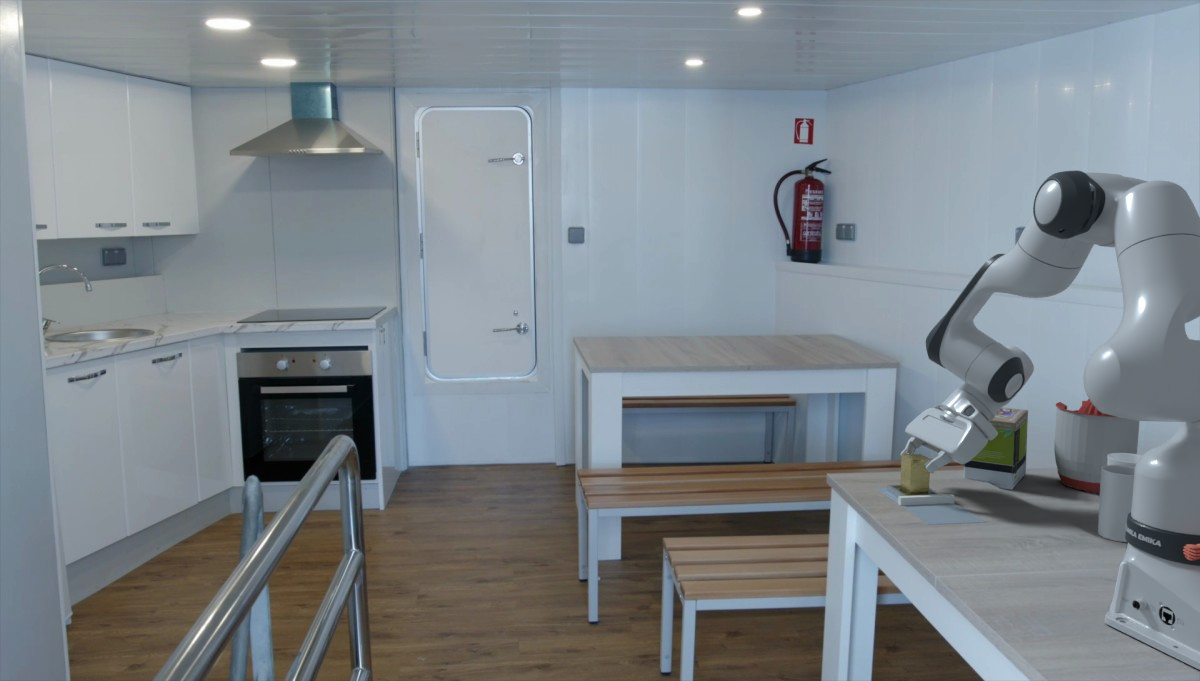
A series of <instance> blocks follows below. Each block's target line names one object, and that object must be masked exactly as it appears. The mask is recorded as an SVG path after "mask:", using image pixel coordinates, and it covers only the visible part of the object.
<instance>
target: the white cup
mask: <svg viewBox="0 0 1200 681" xmlns="http://www.w3.org/2000/svg"><path fill="white" fill-rule="evenodd" d="M1142 455H1143V454H1138V453H1137V454H1130V453H1111V454H1108V455H1107V465H1121V466H1129V467H1134V468H1135V466H1136V464H1137V462H1138V460H1139V459H1140V457H1141V456H1142Z"/></svg>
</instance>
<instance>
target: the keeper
mask: <svg viewBox="0 0 1200 681" xmlns="http://www.w3.org/2000/svg"><path fill="white" fill-rule="evenodd" d="M886 488H887V491H888V492H889V493H891V494H892V495H894V496H895V497H897V498H898V496H918V495H905V494H903V493H902V492H900V484H886ZM929 495H942V493H940V492H938V491H936V490H934V489H933V488H931V487H929Z"/></svg>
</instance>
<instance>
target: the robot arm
mask: <svg viewBox="0 0 1200 681" xmlns="http://www.w3.org/2000/svg"><path fill="white" fill-rule="evenodd" d="M1032 209H1033V214H1032V216H1031V218H1030V219H1029V220H1028V222H1027V224H1026V226H1025V227H1024V229H1023V231H1022V233H1021V234H1020V236H1019V238H1018V239H1017V242H1016V243H1015V245H1014V246H1013V247H1012V248H1011V250H1009V251H1008V252H1006V253H997V254H994V255H993V256H992V257H990V258H989V259H988V260H987V261H985V263H983V265H982V266H981V267H980V268H979V269H978V270H977V272H976V273H975V274H974V275H973V277H972V278H971V279H970V281H969V282H968V283H967V284H966V286H965V287H964V289H963V290H962V291H961V292H960V294H959V295H958V297H957V298H956V299H955V301H954V303H952V305H951V306H950V307H949V309H948V310H947V312H946V313H945V314H944V315H943V317H942V318H941V319H940V320H939V321H938V322H937V323H936V324H935V326H934V327H932V329H931V330H930V331H929V333H928V335H927V336H926V339H925V349H926V350H925V351H926V354H927V357H928V359H929V360H930V361H931V362H932V363H934V364H936V365H939V366H940V367H941V368H944V370H945V369H946V370H947V371H949V372H950V373H952V374H953V375H954V376H956V377H957V378H959V379H960V380H961V381H963V382H964V383H963V384H961V385H959V386H958V387H956V389H955V390H953V391H952V393H951V394H950V395H949V396H948V397H947V398H946V399H945V400H944V401H942V403H941V404H940V405H936V406H935V407H930V408H927V409H925V410H924V411H922V412H920V414H919V415H917V416H916V417H915V418H914V419H913V420H912V421H911V422H909V424H907V425H906V427H905V430H904V433H905V434H906V435H907V436H908V437H909V439H908V441H907V442H906V444H905V448H904V449H903V450H902V451H901V452H900V453H899V454H900V456H901V457H902V454H915V452H916V450H917V449H919V448H920V447H921V446H922V447H924V448H927V449H929V450H931V451H933V452H935V453H937V456H936V457H935V458H933V459H930V460H928V461H927V462H926V464H924V466H923V467H924V469H925V470H926V471H928V472H929V473H930V474H934V473H935V472H936V471H937V470H938V469H940V468H942V467H944V466H946V465H948V464H950V462H951V461H954V462H956V463H957V464H959V465H964V464H965V463H967V462H969V461H971V460H972V459H973V458H974V457H975V456H976V455H977V454H978V453H979V452H980V451H981V450H982V449H983V448H984V447H985V446H986V444H987V442H988V440H993V439H994V438H995V437H996V436H997V435H998V432H997V430H996V429H995V428H994V427H993V426H992V424H991V423H990V421H991V420H992V419H993V418H994V417H995V415H996V413H997V412H998V410H999V409H1000V408H1001V407H1003V408H1004V407H1005V406H1006V405H1008V404H1009V403H1010V402H1011V401H1012V400H1013V399H1014V398H1015V397H1016V396H1017V395H1018V393H1019V392H1020V391H1022V389H1023V388H1024V386H1026V383H1028V381H1029V379H1030V378H1031V376H1032V375H1033V373H1034V372H1035V371H1034V370H1035V367H1034V366H1035V365H1034V364H1033V362H1032V359H1031V358H1030V357H1029V355H1028V354H1026V352H1025V351H1023V350H1022V349H1021V348H1019V347H1016V346H1014V345H1010V344H1007V345H1003V344H1002V343H1000V342H998V341H996V340H995V339H993V338H992V337H991V336H989V335H988V334H986V333H984V332H983V331H981V330H979V329H978V327H977V326H976V325H975V322H974V319H975V318H976V316H978V314H979V313H980V312H981V311H982V309H983V307H984V306H985V305H986V304H987V302H988V301H989V300H990V298H991V297H992V295H993V294H994V293H1000V294H1008V295H1014V296H1017V297H1023V298H1033V299H1039V298H1041V299H1042V298H1043V299H1044V298H1049V297H1053V296H1056V295H1058V294H1060V293H1063V292H1064V291H1065V290H1067V289H1068V288H1069V287H1070V285H1072V283H1074V281H1075V279H1076V278H1077V276H1078V275H1079V273H1080V272H1081V271H1082V268H1083V266H1084V265H1085V262H1086V260H1087V259H1088V257H1089V255H1090V253H1091V251H1092V249H1093V247H1094V245H1097V246H1099V247H1105V248H1114V251H1115V256H1116V261H1117V265H1118V266H1117V267H1118V272H1119V278H1120V282H1121V283H1120V284H1121V291H1122V300H1123V310H1122V316H1121V320H1120V324H1118V327H1117V329H1116V331H1115V332H1114V333H1113V335H1112V336H1111V337H1110V338H1109V339H1108V340H1107V341H1106V342H1104V343H1103V344H1101V345H1100V346H1098V348H1096V349H1095V351H1093V353H1092V354H1091V355H1090V357H1089V358H1088V359H1087V361H1086V364H1085V366H1084V369H1083V370H1084V371H1083V378H1082V379H1083V387H1084V391H1085V393H1086V396H1087V397H1088V399H1089V400H1090V401H1091V403H1092V404H1093V405H1094V406H1095V407H1096V408H1097V409H1098V410H1099V411H1100V412H1101V413H1104V414H1108V415H1112V416H1117V417H1121V418H1126V419H1131V420H1136V421H1140V422H1159V423H1160V422H1165V423H1166V422H1168V423H1173V422H1174V423H1180V425H1179V426H1178V428H1177V430H1176V431H1175V433H1174V434H1173V435H1172V436H1171V437H1170V438H1169V439H1168V440H1167V441H1165V442H1164V443H1161V444H1160V445H1158V446H1155V447H1153V448H1151V449H1149V450H1147V451H1145V452H1144V453H1143V454H1141V455H1142V456H1141V457H1140V459H1139V460H1138V462H1137V464H1136V466H1135V471H1134V484H1133V496H1132V508H1131V512H1130V513H1129V514H1128V516H1127V523H1126V524H1125V529H1126V533H1125V539H1126V540H1127V542H1126V543H1127V547H1126V551H1125V553H1124V555H1123V558H1122V560H1121V562H1120V565H1119V568H1118V573H1117V578H1116V582H1115V587H1114V592H1113V597H1112V600H1111V603H1110V606H1109V610H1108V611H1107V612H1106V614H1105V617H1104V623H1105V624H1106V625H1108V626H1110V627H1112V628H1114V629H1116V630H1118V631H1120V632H1122V633H1124V634H1126V635H1128V636H1130V637H1132V638H1134V639H1136V640H1138V641H1140V642H1142V643H1144V644H1146V645H1149V646H1150V647H1152V648H1154V649H1157V650H1158V651H1160V652H1162V653H1165V654H1167V655H1168V656H1171V657H1172V658H1174V659H1177V660H1178V661H1181V662H1183V663H1185V664H1187V665H1189V666H1191V667H1193V668H1195V669H1197V670H1199V671H1200V339H1190V338H1189V337H1188V335H1187V332H1186V331H1187V330H1186V324H1187V323H1189V322H1192V321H1194V320H1195V319H1198V318H1200V215H1199V212H1198V211H1197V209H1196V207H1195V204H1194V202H1193V200H1192V199H1191V197H1190V195H1189V194H1188V192H1187V190H1185V189H1184V188H1183V187H1182V186H1181V185H1179V184H1177V183H1175V182H1173V181H1169V180H1168V181H1167V180H1151V181H1147V180H1144V179H1139V178H1135V177H1132V176H1131V177H1129V176H1124V175H1122V174H1118V173H1105V172H1084V171H1082V170H1065V171H1060V172H1059V171H1058V172H1054V173H1053V174H1051V175H1049V176H1048V177H1047V178H1046V179H1045V180H1044V181H1043V183H1042V184H1041V185H1040V187H1039V188H1038V189H1037V192H1036V194H1035V197H1034V200H1033V206H1032Z"/></svg>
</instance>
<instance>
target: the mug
mask: <svg viewBox="0 0 1200 681" xmlns="http://www.w3.org/2000/svg"><path fill="white" fill-rule="evenodd" d="M1134 471H1135V468H1134V467H1129V466H1121V465H1106V466H1102V467H1101V480H1100V492H1099V502H1098V504H1099V506H1098V523H1097V524H1098V525H1097V526H1098V528H1097V533H1098V535H1099V536H1101V537H1102V538H1104V539H1107V540H1110V541H1115V542H1121V543H1122V542H1123V543H1128V542H1127V540H1126V539H1125V533H1126V529H1125V524H1126V523H1127V516H1128V514H1129V513H1130V512H1131V508H1132V496H1133V484H1134Z"/></svg>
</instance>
